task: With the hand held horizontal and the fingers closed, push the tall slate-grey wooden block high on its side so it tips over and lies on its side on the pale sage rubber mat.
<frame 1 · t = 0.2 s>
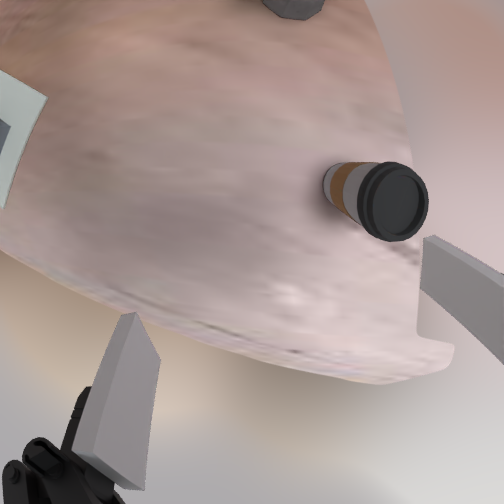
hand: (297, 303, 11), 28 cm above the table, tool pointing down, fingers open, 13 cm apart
coffee cup: (341, 184, 38), on the table
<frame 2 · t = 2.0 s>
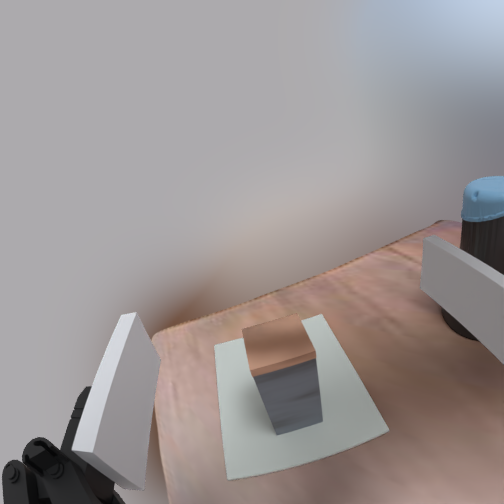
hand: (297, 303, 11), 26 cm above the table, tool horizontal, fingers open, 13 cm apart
slate block: (294, 411, 32), resting on sage mat
sage mat: (286, 386, 37), on the table
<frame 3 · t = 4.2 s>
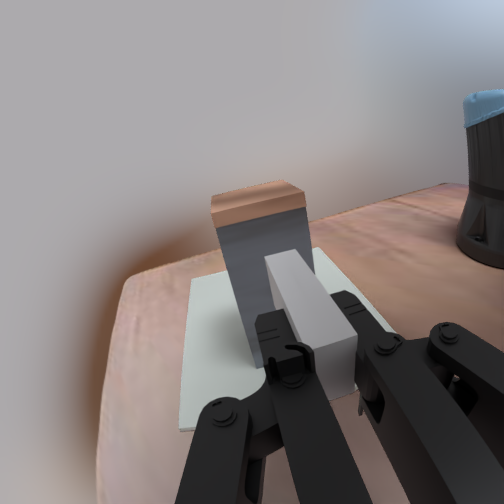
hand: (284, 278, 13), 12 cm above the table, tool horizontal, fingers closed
slate block: (282, 339, 26), resting on sage mat
sage mat: (273, 314, 30), on the table
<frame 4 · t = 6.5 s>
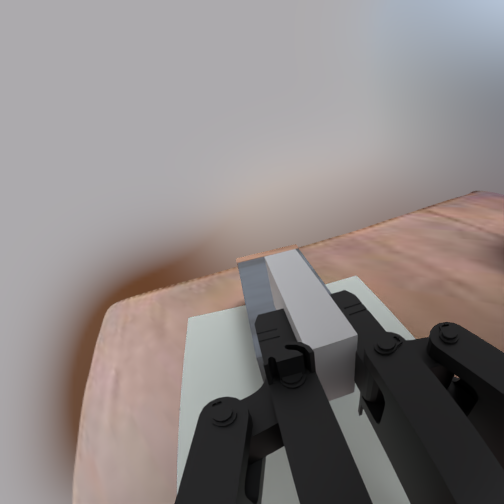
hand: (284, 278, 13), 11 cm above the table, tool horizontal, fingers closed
slate block: (311, 377, 16), point 3 cm above the table, tilted 90°, touching sage mat
sage mat: (307, 387, 19), on the table
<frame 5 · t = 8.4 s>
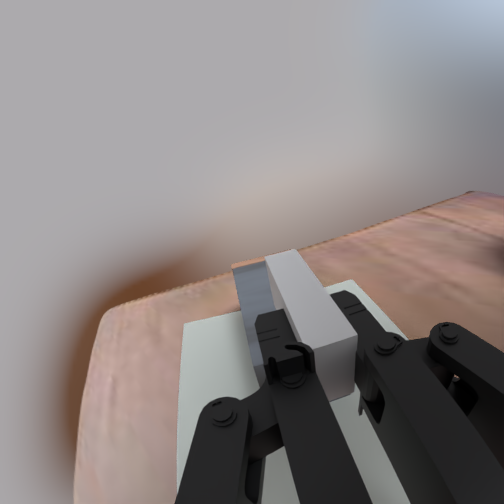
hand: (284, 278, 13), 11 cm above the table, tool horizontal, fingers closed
slate block: (308, 384, 16), point 3 cm above the table, tilted 90°, touching sage mat
sage mat: (304, 393, 19), on the table
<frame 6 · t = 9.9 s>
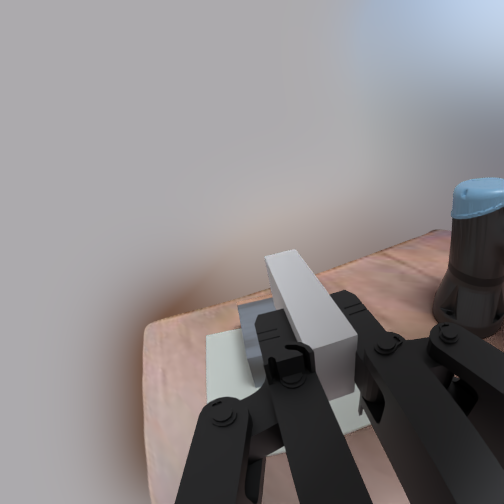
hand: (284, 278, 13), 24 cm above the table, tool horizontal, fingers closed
slate block: (273, 369, 34), point 3 cm above the table, tilted 90°, touching sage mat
sage mat: (274, 376, 37), on the table
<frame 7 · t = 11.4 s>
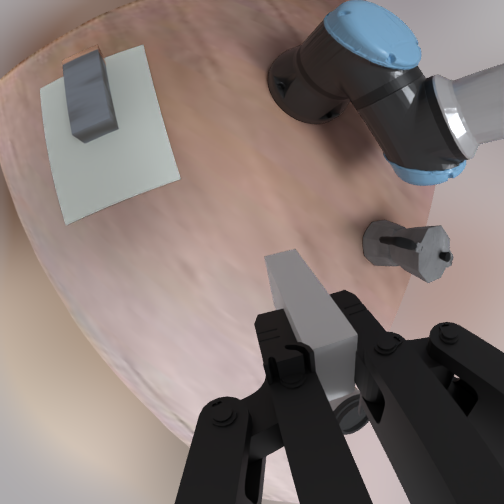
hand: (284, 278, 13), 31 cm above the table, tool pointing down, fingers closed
slate block: (96, 131, 33), point 3 cm above the table, tilted 90°, touching sage mat
coffee cup: (319, 377, 53), on the table
sage mat: (100, 126, 36), on the table
coffeepot: (374, 241, 51), on the table
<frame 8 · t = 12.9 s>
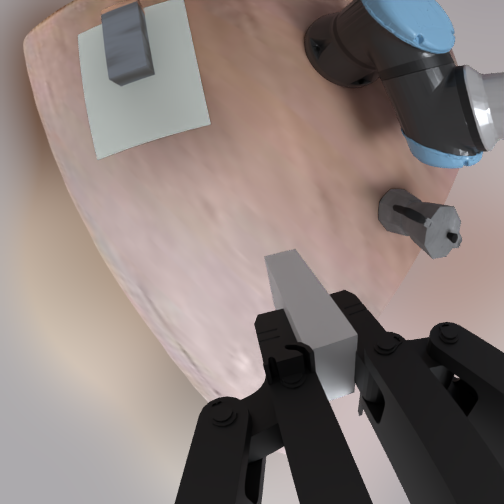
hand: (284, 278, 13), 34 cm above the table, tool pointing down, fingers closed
slate block: (132, 76, 33), point 3 cm above the table, tilted 90°, touching sage mat
sage mat: (136, 71, 36), on the table
coffeepot: (390, 207, 51), on the table
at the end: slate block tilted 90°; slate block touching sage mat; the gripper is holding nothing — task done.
